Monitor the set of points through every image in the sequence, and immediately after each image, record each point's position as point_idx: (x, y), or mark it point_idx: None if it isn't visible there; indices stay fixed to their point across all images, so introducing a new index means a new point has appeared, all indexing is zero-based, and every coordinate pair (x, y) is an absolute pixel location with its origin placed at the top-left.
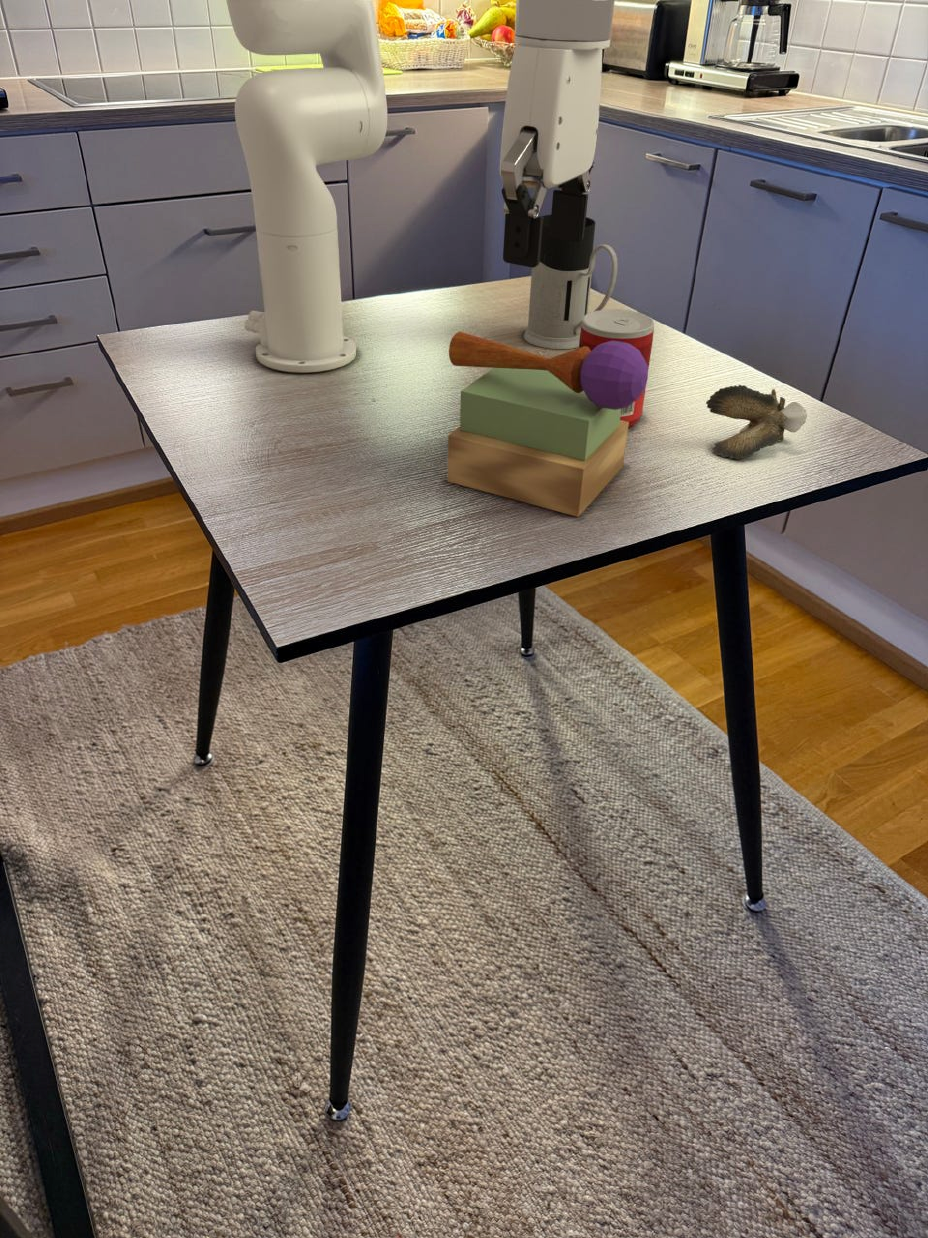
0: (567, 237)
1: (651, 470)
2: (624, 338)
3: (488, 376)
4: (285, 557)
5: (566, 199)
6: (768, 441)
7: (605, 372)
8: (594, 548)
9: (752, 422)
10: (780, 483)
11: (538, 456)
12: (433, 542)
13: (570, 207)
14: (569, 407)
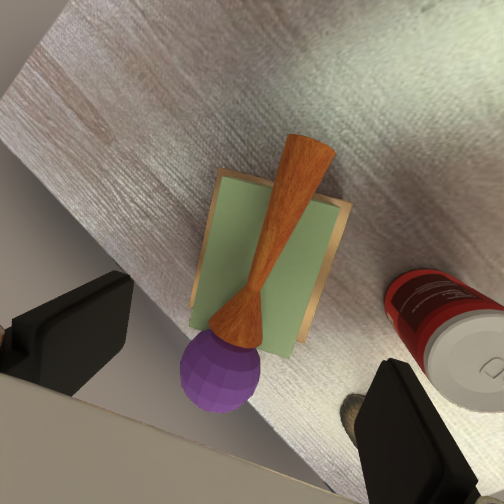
0: (364, 401)
1: (303, 343)
2: (424, 369)
3: None
4: (70, 73)
5: (403, 490)
6: (355, 444)
7: (180, 366)
8: (164, 303)
9: None
10: (304, 434)
11: (199, 266)
12: (132, 186)
13: (388, 477)
14: (214, 305)
